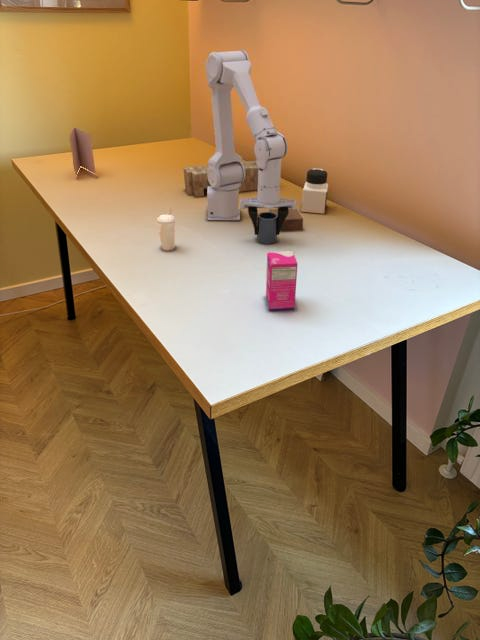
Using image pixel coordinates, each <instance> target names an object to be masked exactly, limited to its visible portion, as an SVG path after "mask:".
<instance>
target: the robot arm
mask: <svg viewBox="0 0 480 640" xmlns="http://www.w3.org/2000/svg"><path fill="white" fill-rule="evenodd" d="M205 69H206V70H205V71H206V80H207V87H209V88H210V95H211V96H210V97H211V108H212V119H213V131H214V141H215V153H214V154H213V155H212V156H211V157H210V158H208V160H207V166H208V172H207V177H208V181H209V183H210V185H211V186H209V187H207V193H206V202H207V205H206V212H207V220H208V221H240V220H241V211H240V210H244V209H247V213H248V216H249V218H250V221H251V223H252V226H253V231H254V235H255V236H257V233H258V231H257V219H258V214H259V213H258V209H266V210H271V209H278V222H277V236H280V233H281V231H280V230H281V227H282V224H283V222H284V220H285V219H286V217H287V216H288V213H289V211H288V209H297V200H296V199H289V198H282V197H280V195H281V193H280V191H281V179H282V177H281V175H282V160H283V158H285V156H286V155H287V153H288V143H287V139H286V137H285V135H284V134H282V133H280V131H279V130H278V129H276V127H275V125H274V122H273V120H272V118H271V116H270V114H269V111H268V109H267V108H266V107H264V106H261V104H260V102H259V98H258V95H257V93H256V90H255V86H254V83H253V81H252V77H251V72H252V62H251V61H250V57H249V54H248V53H247V52H246V51H245V50H244V49H239V50H232V51H212V52H210V53H209V55H208V57H207V59H206V61H205ZM233 88H234V90H235V92H236V93H237V95H238V97H239V99H240V102H241V103H242V105H243V107H244V108H245V110H246V112H247V113H246V115H245V122H246V124H247V126H248V128H249V131H250V133H251V136H252V138H253V141H254V143H255V144H254V146H253V152H254V156H255V159H256V164H257V167H258V190H257V197H253V198H251V197H250V198H245V199H244V198H240V192H239V187H241V183H242V182H243V181H244V179H245V168H244V165H243V162H244V160H243V157H242V155H240V154H238V152H236V150H235V137H234V136H235V135H234V123H233V122H234V120H233V108H232V93H231V92H232V89H233ZM239 203H240V204H239ZM239 207H240V208H239Z"/></svg>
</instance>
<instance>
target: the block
mask: <svg viewBox="0 0 480 640" xmlns="http://www.w3.org/2000/svg"><path fill="white" fill-rule="evenodd" d="M268 210H269V211H268V212H272V213H275V214H277V215H278V208H273V209H268ZM288 211H289V213H288V216H287V217H286V219H285V220H284V222H283V224H282V227H281V230H280V232H297V231H298V232H299V231H303V227H304V226H303V225H304V217H302V215H301V213H300V212H299V211H298V208H296V209H291V208H288Z"/></svg>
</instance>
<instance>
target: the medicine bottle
mask: <svg viewBox="0 0 480 640" xmlns="http://www.w3.org/2000/svg"><path fill="white" fill-rule="evenodd" d="M327 182H328V172H327V171H326V170H324V169H322V168H310V169H308V170H307V171H306V180H305V183H304V186H303V189H302V195H301V197H302V198H301V209H300V211H301V212H302V213H310V214H311V213H312V214H322V215H323V214H325V213H326V207H327V201H328V193H329V192H328V191H329V183H327Z"/></svg>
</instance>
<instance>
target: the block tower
mask: <svg viewBox="0 0 480 640" xmlns="http://www.w3.org/2000/svg"><path fill="white" fill-rule="evenodd" d="M243 165H244V168H245V179H244V181H243V182H242V183H241V187H239V193H241V192H249V191H258V167H257V164H256V160H248V161H243ZM207 172H208V165H196V166H188V167H187V166H186V167H183V178H184V180H183V181H184V189H185V192H186V193H187V194H188V195H189V196H192V195H194V197H195V198H199V197H204V196H205V193H206V194H207V187H209V186H211V185H210V183H209V181H208V177H207Z"/></svg>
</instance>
